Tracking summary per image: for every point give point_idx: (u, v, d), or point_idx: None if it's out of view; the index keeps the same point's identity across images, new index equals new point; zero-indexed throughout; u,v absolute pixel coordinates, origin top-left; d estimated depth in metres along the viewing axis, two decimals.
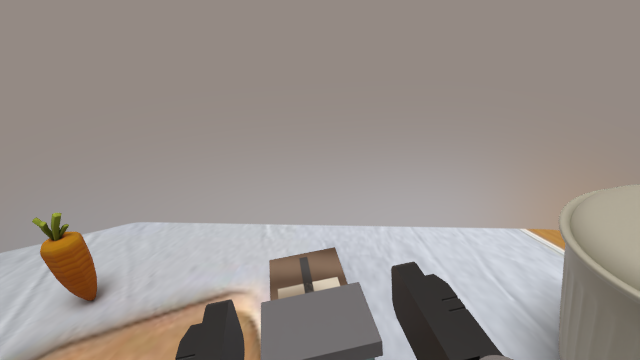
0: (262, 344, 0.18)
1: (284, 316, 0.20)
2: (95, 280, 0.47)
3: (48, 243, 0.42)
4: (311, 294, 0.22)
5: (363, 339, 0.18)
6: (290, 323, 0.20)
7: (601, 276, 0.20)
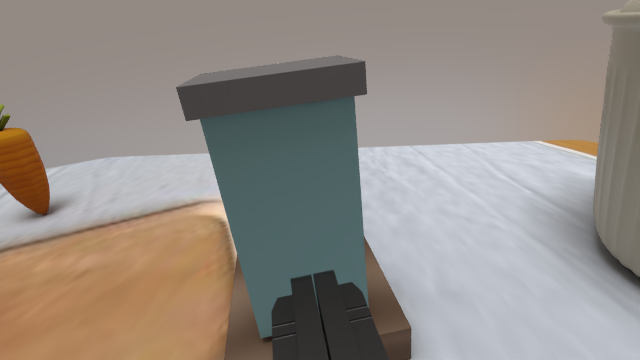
0: (188, 81, 0.12)
1: (227, 73, 0.14)
2: (46, 189, 0.40)
3: None
4: (271, 65, 0.16)
5: (337, 64, 0.12)
6: (234, 73, 0.14)
7: None
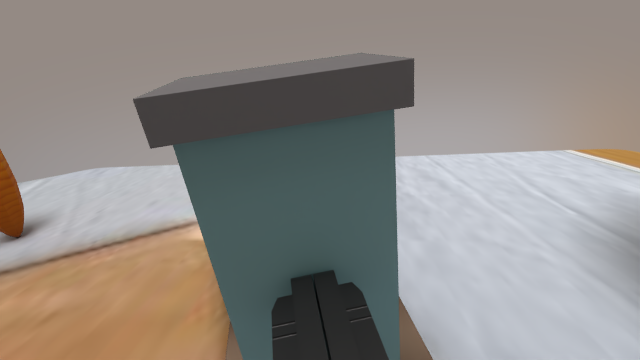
0: (156, 89, 0.09)
1: (215, 76, 0.10)
2: (19, 208, 0.36)
3: None
4: (274, 65, 0.12)
5: (372, 63, 0.08)
6: (224, 76, 0.10)
7: None
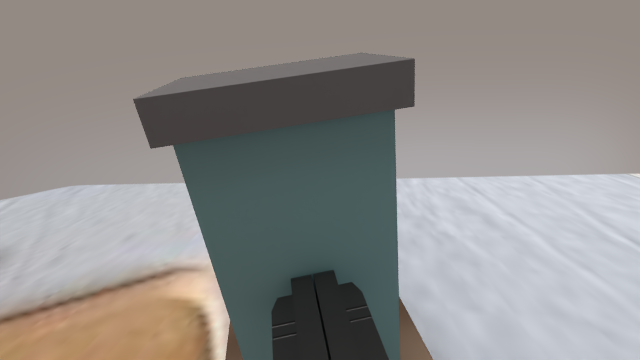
0: (157, 89, 0.09)
1: (216, 76, 0.10)
2: None
3: None
4: (274, 65, 0.12)
5: (373, 63, 0.08)
6: (225, 76, 0.10)
7: None
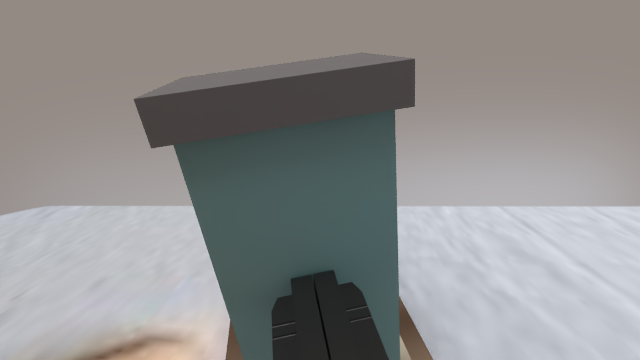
0: (157, 89, 0.09)
1: (216, 76, 0.10)
2: None
3: None
4: (275, 65, 0.12)
5: (373, 63, 0.08)
6: (225, 76, 0.10)
7: None
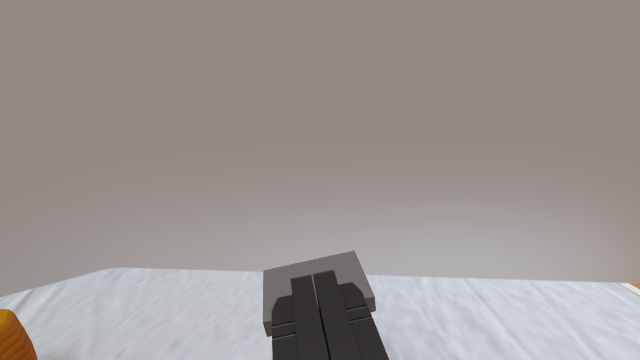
0: (264, 303, 0.20)
1: (284, 280, 0.22)
2: None
3: None
4: (310, 262, 0.23)
5: None
6: (290, 285, 0.21)
7: None
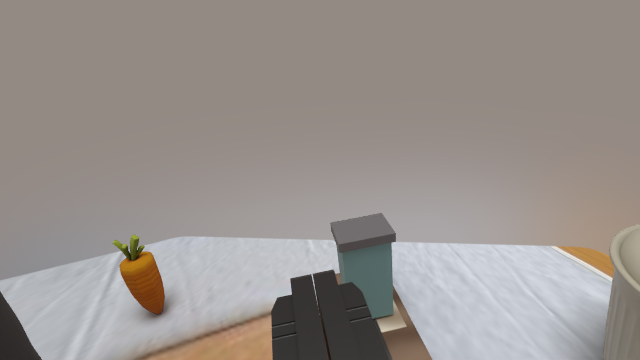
0: (336, 237, 0.38)
1: (344, 227, 0.39)
2: (163, 295, 0.51)
3: (127, 263, 0.46)
4: (356, 218, 0.41)
5: (386, 233, 0.37)
6: (348, 229, 0.39)
7: None
